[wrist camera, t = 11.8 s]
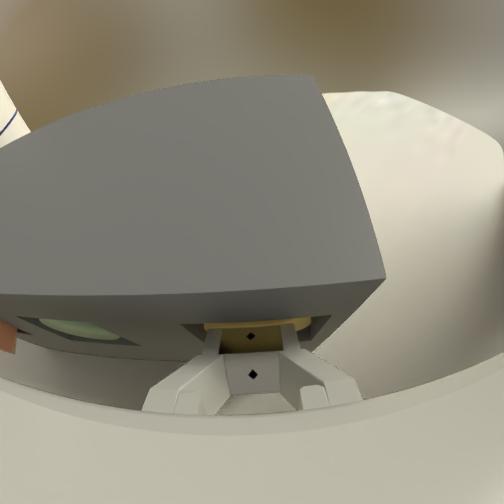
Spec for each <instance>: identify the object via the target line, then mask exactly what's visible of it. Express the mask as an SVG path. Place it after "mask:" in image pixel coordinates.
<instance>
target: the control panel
mask: <svg viewBox="0 0 504 504" xmlns="http://www.w3.org/2000/svg"><path fill="white" fill-rule="evenodd" d="M385 279H386V274H385V270H384V266H383V262H382V258H381V254H380V250H379V246H378V243H377V239H376V236H375V232H374V229H373V225H372V222H371V219H370V215H369V212H368V209H367V206H366V203H365V200H364V197H363V194H362V191H361V188H360V185H359V182H358V180H357V177H356V174H355V171H354V169H353V166H352V163H351V161H350V158H349V156H348V153H347V150H346V148H345V145H344V143H343V141H342V138H341V136H340V133H339V131H338V129H337V126H336V124H335V122H334V120H333V117H332V115H331V113H330V111H329V109H328V106H327V104H326V102H325V100H324V98H323V96H322V94H321V92H320V90H319V88H318V86H317V84H316V82H315V80H314V78H313V76H312V75H266V76H249V77H237V78H226V79H217V80H209V81H203V82H196V83H190V84H183V85H178V86H173V87H168V88H163V89H158V90H153V91H149V92H145V93H141V94H137V95H133V96H129V97H125V98H122V99H118V100H115V101H112V102H108V103H105V104H102V105H99V106H95V107H92V108H89V109H87V110H84V111H81V112H78V113H76V114H73V115H70V116H67V117H65V118H63V119H60V120H57V121H55V122H53V123H50V124H48V125H46V126H44V127H41V128H39V129H37V130H35V131H32V132H30V133H28V134H26V135H24V136H22V137H20V138H18V139H16V140H14V141H12V142H10V143H9V144H7V145H5V146H3V147H1V148H0V321H2V322H5V323H7V324H9V325H11V326H13V327H16V328H18V330H17V338H19V339H22V340H25V341H27V342H30V343H33V344H35V345H38V346H41V347H44V348H47V349H53V350H59V351H65V352H72V353H79V354H87V355H95V356H104V357H115V358H126V359H140V360H159V361H190V360H191V359H193V358H194V357H196V356H197V355H202V351H203V347H204V343H205V339H206V335H207V331H206V330H205V329H204V324H205V323H232V322H251V321H267V320H281V319H293V318H305V317H311V324H310V325H309V326H307V327H306V328H304V329H301V330H298V331H296V333H297V337H298V340H299V344H300V348H301V349H306V350H308V351H309V352H312V351H313V350H314V349H316V348H317V347H318V346H319V345H320V344H321V343H322V342H323V341H324V340H325V339H327V338H328V337H329V336H330V335H331V334H332V333H333V332H334V331H335V330H336V329H337V328H338V327H339V326H340V325H341V324H342V323H343V322H344V321H346V320H347V319H348V318H349V317H350V316H351V315H352V314H353V313H354V312H355V311H356V310H357V309H358V308H359V307H360V306H361V305H362V304H363V303H364V301H365V300H366V299H367V298H368V297H369V296H370V295H371V294H372V293H373V292H374V291H375V290H376V289H377V288H378V287H379V286H380V285H381V283H382V282H383V281H384V280H385ZM39 318H40V319H51V320H64V321H78V322H90V323H92V324H94V325H96V326H98V327H101V328H103V329H105V330H107V331H109V332H111V333H113V334H116V335H118V336H120V338H119V339H115V340H100V339H91V338H85V337H80V336H75V335H71V334H67V333H64V332H61V331H58V330H55V329H52V328H50V327H48V326H46V325H44V324H42V323H41V322H40V321H39Z"/></svg>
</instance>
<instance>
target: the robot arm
mask: <svg viewBox="0 0 504 504" xmlns="http://www.w3.org/2000/svg"><path fill="white" fill-rule="evenodd" d="M277 392H280V394H281V395H282V396H283V397H284V398H285V399H286V400H287V401H288V402H289V403H290V404H291V405H292V406H293V407H294V408H295V409H296V410H297V411H290V412H279V413H266V414H248V415H215V414H216V413H217V412H218V410H219V409H220V408H221V407H222V406H223V404H224V403H225V402H226V401H227V400H228V398H229V397H230V395H241V394H256V393H277ZM0 504H504V352H502V353H500V354H498V355H496V356H494V357H492V358H490V359H487V360H485V361H483V362H481V363H478V364H476V365H474V366H471V367H469V368H467V369H464V370H462V371H459V372H456V373H454V374H451V375H449V376H446V377H443V378H440V379H437V380H434V381H431V382H428V383H425V384H422V385H419V386H416V387H412V388H409V389H406V390H402V391H398V392H395V393H391V394H387V395H383V396H379V397H375V398H370V399H366V400H363V398H362V396H361V393H360V391H359V389H358V386H357V384H356V382H355V379H354V378H353V377H351V376H350V375H348V374H346V373H344V372H343V371H341V370H339V369H338V368H336V367H334V366H333V365H331V364H329V363H328V362H326V361H324V360H323V359H321V358H319V357H318V356H316V355H314V354H313V353H311V352H309V351H308V350H306V349H301V348H300V344H299V340H298V337H297V333H296V329H295V325H294V323H289V324H281V325H272V326H262V327H242V328H213V329H208V331H207V335H206V339H205V343H204V347H203V351H202V355H197V356H196V357H194V358H193V359H191V360H190V361H189V362H187V363H186V364H184V365H183V366H182V367H180V368H179V369H177V370H176V371H175V372H173V373H172V374H170V375H169V376H167V377H166V378H165V379H163V380H162V381H160V382H159V383H157V384H156V385H154V386H153V387H151V388H150V390H149V392H148V395H147V397H146V400H145V402H144V405H143V407H142V410H133V409H125V408H119V407H112V406H106V405H101V404H95V403H90V402H86V401H81V400H76V399H72V398H68V397H64V396H60V395H56V394H52V393H49V392H45V391H42V390H38V389H35V388H32V387H29V386H26V385H23V384H20V383H17V382H14V381H11V380H8V379H6V378H3V377H1V376H0Z"/></svg>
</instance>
